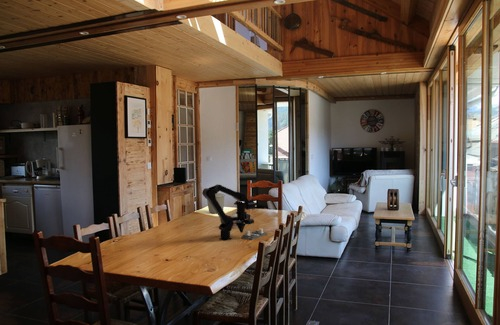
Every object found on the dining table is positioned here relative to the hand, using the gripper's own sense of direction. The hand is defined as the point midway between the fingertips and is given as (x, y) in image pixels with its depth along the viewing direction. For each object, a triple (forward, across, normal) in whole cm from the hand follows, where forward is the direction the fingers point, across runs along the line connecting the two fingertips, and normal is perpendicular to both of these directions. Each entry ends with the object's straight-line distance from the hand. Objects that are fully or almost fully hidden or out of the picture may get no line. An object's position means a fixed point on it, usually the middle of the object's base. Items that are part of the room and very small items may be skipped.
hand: (241, 232), depth 270 cm
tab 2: (+1, -9, -10) cm, 14 cm away
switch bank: (+3, -8, -5) cm, 9 cm away
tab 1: (+1, -5, 0) cm, 6 cm away
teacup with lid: (+3, +22, -22) cm, 32 cm away
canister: (+3, +80, -60) cm, 100 cm away
